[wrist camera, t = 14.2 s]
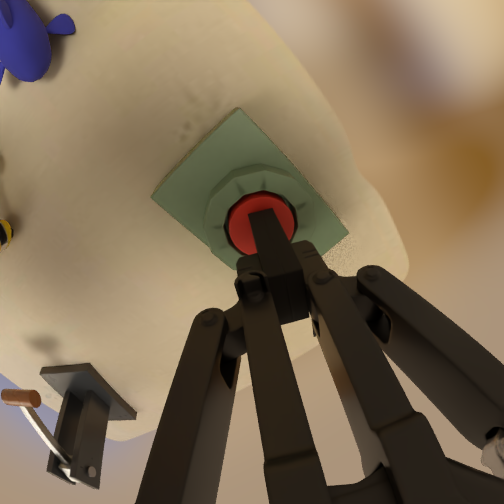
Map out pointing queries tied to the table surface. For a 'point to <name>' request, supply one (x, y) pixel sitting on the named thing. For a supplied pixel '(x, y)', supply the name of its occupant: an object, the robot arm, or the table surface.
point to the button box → (241, 188)
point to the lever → (37, 423)
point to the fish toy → (27, 39)
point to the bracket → (83, 420)
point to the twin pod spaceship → (5, 234)
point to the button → (254, 203)
